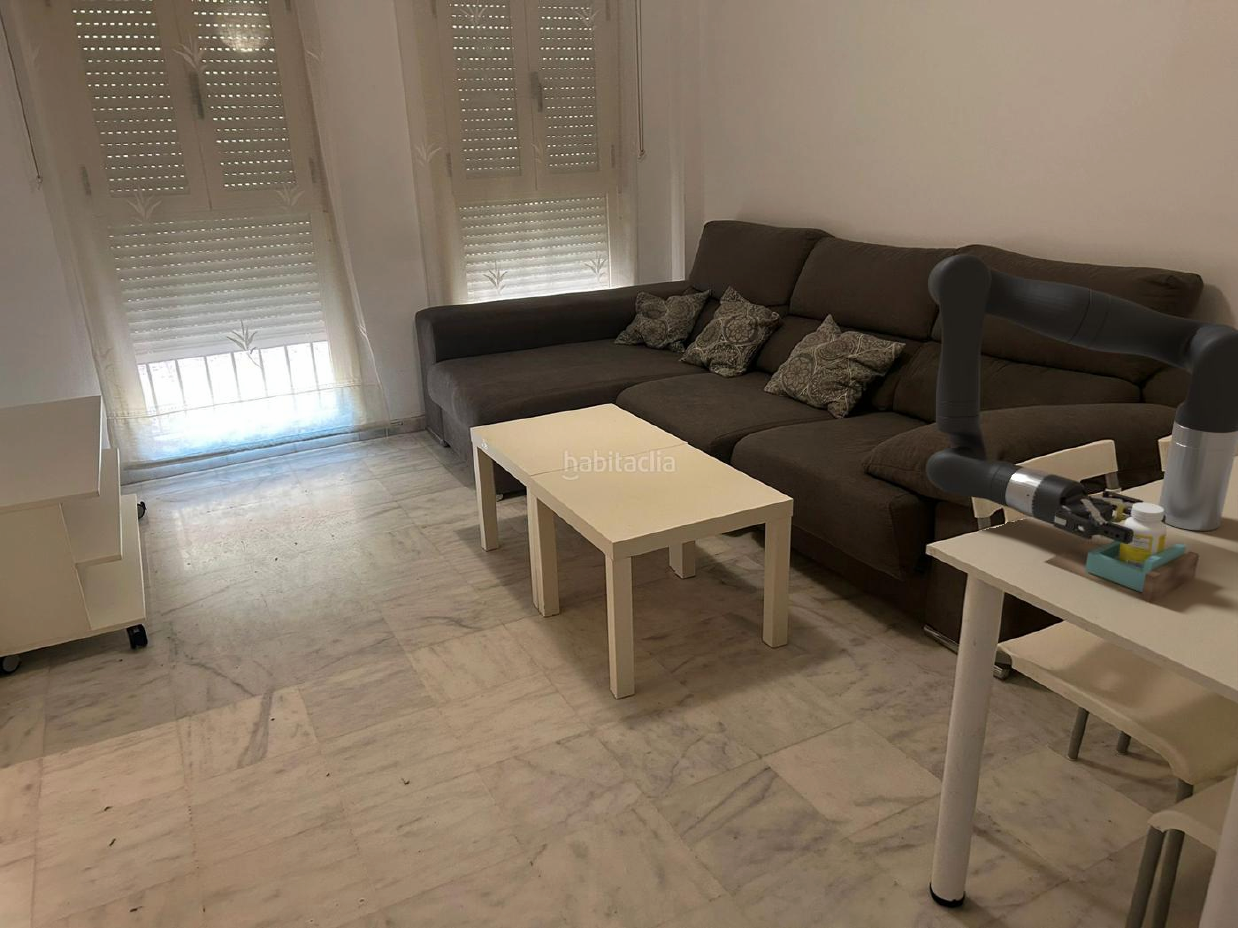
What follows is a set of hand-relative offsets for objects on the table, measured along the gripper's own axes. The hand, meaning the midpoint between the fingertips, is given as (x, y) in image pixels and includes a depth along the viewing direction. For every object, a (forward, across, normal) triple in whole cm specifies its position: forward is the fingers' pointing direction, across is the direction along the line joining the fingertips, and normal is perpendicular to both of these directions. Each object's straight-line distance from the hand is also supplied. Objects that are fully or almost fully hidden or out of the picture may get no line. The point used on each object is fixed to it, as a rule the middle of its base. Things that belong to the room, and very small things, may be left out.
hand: (1148, 529), depth 129 cm
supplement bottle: (0, 0, +7) cm, 7 cm away
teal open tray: (-1, 0, +8) cm, 8 cm away
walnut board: (-3, 0, +9) cm, 10 cm away
